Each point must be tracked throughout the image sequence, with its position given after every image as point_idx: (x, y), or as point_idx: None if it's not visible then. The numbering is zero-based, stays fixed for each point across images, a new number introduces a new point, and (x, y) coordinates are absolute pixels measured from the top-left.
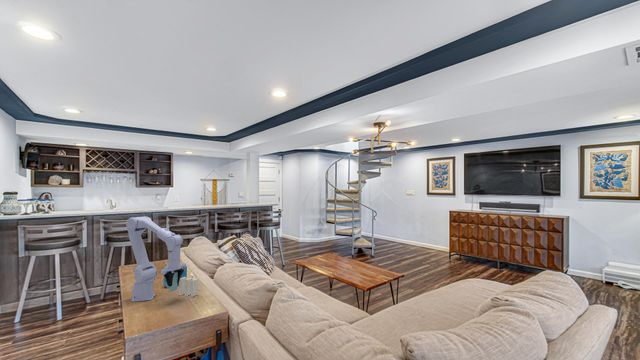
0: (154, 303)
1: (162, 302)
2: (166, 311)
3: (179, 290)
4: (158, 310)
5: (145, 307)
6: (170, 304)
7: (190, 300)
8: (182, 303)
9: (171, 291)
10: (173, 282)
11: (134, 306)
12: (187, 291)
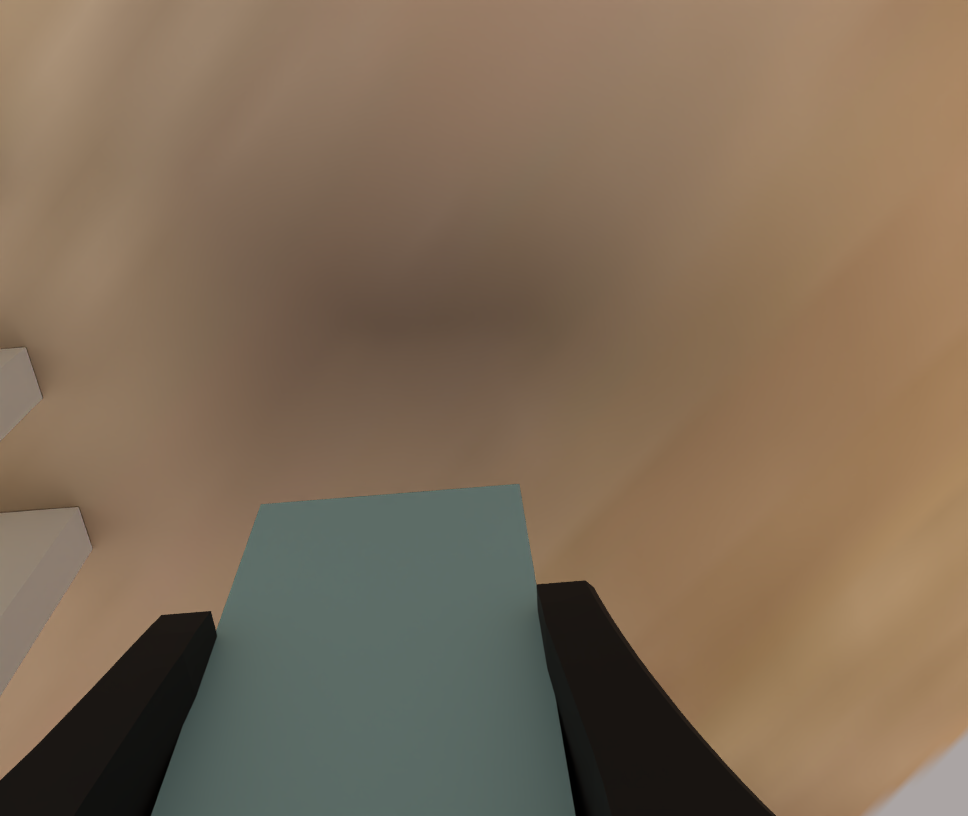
0: (623, 607)
1: (530, 525)
2: (929, 3)
3: (39, 615)
4: (907, 243)
5: (824, 587)
6: (552, 287)
7: (127, 15)
8: (386, 53)
9: (501, 487)
10: (420, 706)
11: (827, 755)
12: None
